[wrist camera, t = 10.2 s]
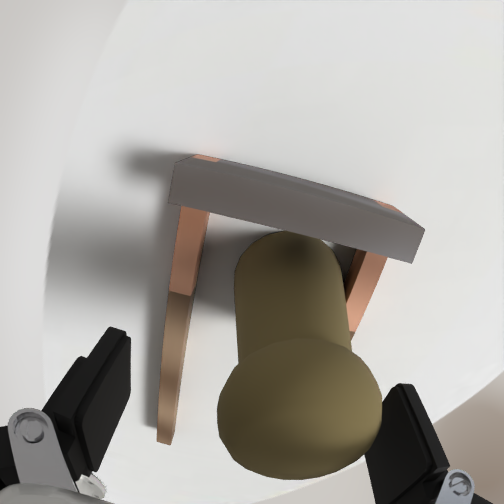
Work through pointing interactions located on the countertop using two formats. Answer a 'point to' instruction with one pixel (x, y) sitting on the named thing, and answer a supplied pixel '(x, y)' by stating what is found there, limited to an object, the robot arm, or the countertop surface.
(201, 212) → the guide channel
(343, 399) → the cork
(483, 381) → the countertop surface
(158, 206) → the countertop surface
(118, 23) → the countertop surface
